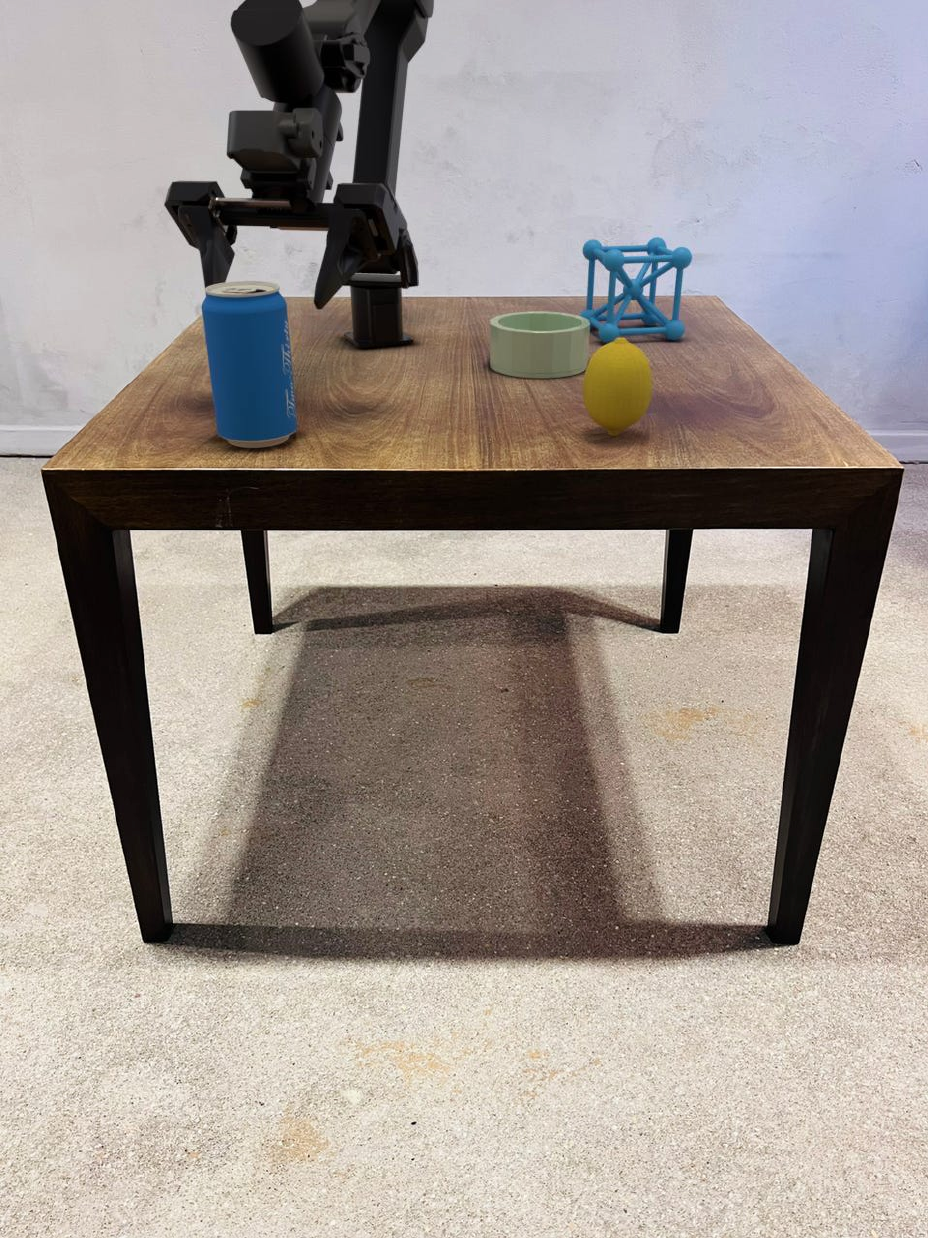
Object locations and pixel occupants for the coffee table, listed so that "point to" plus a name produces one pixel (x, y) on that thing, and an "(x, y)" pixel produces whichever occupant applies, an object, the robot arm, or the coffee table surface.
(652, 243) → the molecular structure
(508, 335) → the collar
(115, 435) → the coffee table surface
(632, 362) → the lemon
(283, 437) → the beverage can
